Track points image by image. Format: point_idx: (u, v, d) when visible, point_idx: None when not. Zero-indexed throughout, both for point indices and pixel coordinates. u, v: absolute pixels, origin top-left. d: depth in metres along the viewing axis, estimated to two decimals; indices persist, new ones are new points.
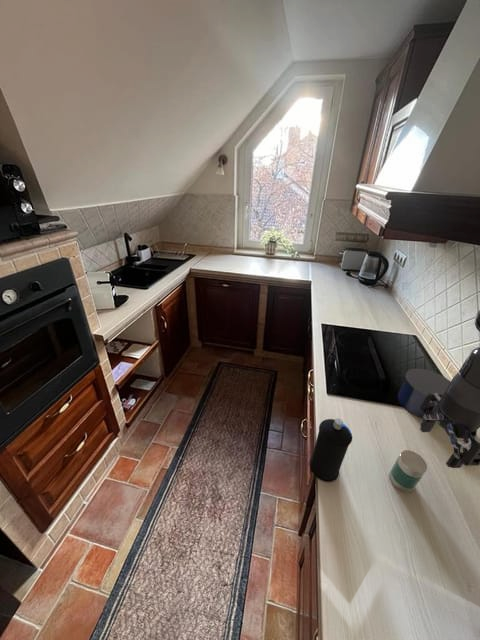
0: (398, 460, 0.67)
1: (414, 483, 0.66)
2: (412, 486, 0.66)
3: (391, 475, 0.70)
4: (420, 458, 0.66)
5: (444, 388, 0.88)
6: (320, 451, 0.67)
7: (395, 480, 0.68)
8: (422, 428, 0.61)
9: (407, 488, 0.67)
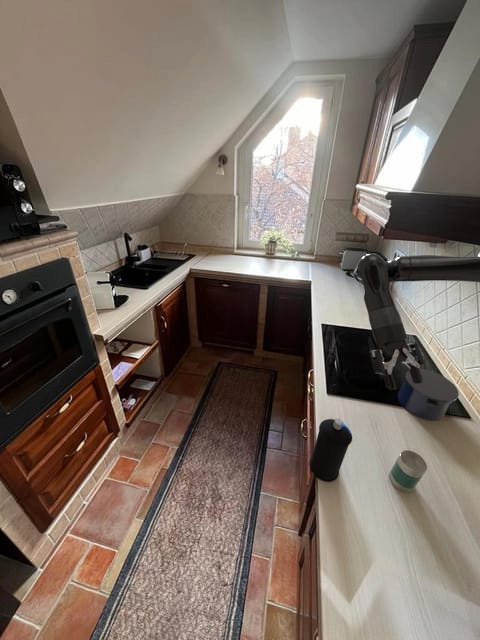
0: (398, 460, 0.67)
1: (414, 483, 0.66)
2: (412, 486, 0.66)
3: (391, 475, 0.70)
4: (420, 458, 0.66)
5: (444, 388, 0.88)
6: (320, 451, 0.67)
7: (395, 480, 0.68)
8: None
9: (407, 488, 0.67)
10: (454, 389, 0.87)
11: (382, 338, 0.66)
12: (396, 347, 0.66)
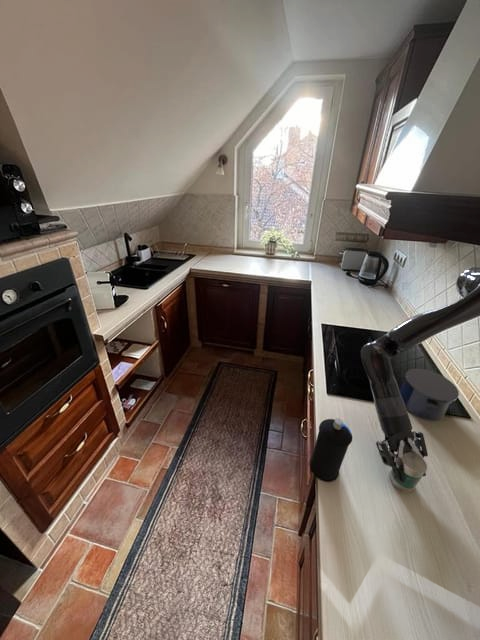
0: None
1: (414, 483, 0.66)
2: (412, 486, 0.66)
3: (391, 475, 0.70)
4: (420, 458, 0.66)
5: (444, 388, 0.88)
6: (320, 451, 0.67)
7: (395, 480, 0.68)
8: None
9: (407, 488, 0.67)
10: (454, 389, 0.87)
11: (387, 428, 0.68)
12: (401, 436, 0.68)
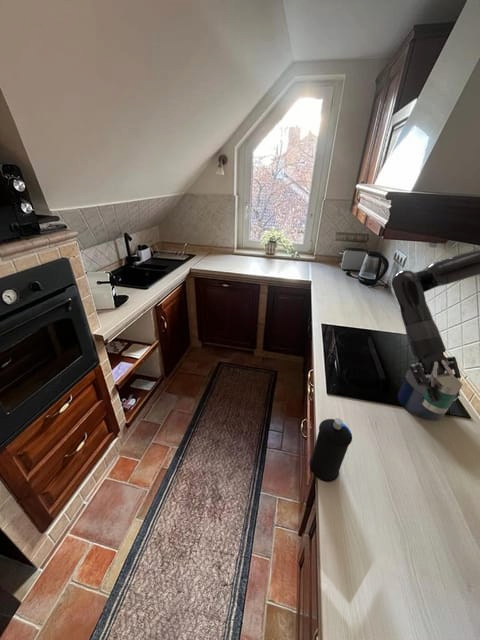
0: None
1: (449, 402, 0.67)
2: (446, 405, 0.67)
3: (424, 399, 0.71)
4: (454, 378, 0.67)
5: None
6: (320, 451, 0.67)
7: (429, 402, 0.69)
8: None
9: (441, 408, 0.68)
10: None
11: (421, 351, 0.69)
12: (435, 359, 0.69)
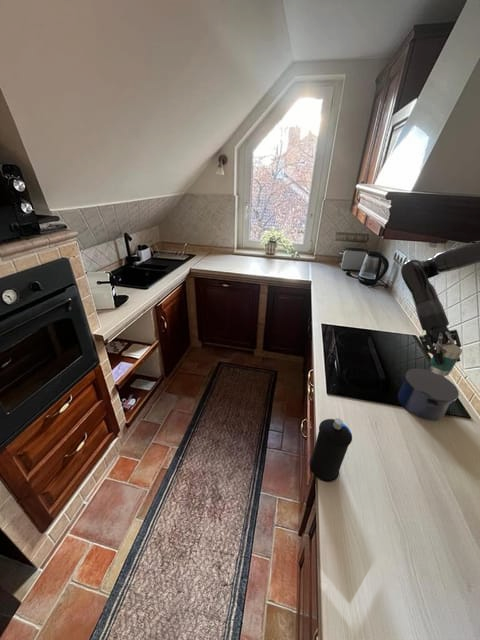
0: None
1: (451, 365, 0.81)
2: (449, 368, 0.82)
3: (430, 364, 0.86)
4: (456, 346, 0.82)
5: (444, 388, 0.88)
6: (320, 451, 0.67)
7: (434, 366, 0.84)
8: None
9: (445, 371, 0.83)
10: (454, 389, 0.87)
11: (428, 324, 0.84)
12: (440, 331, 0.84)
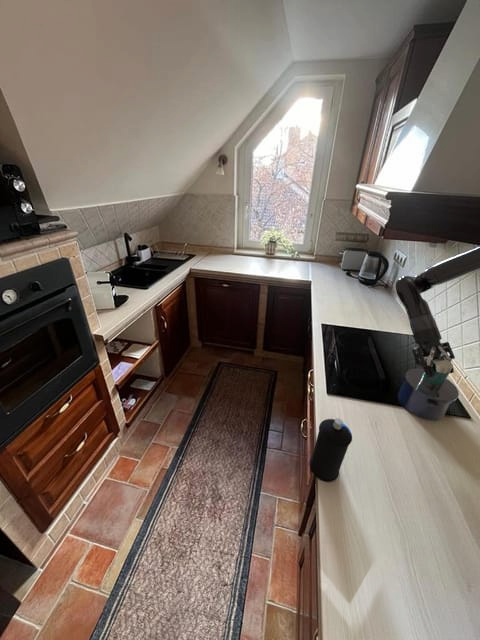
0: None
1: (442, 379, 0.85)
2: (441, 382, 0.86)
3: (423, 378, 0.89)
4: (447, 361, 0.86)
5: (444, 388, 0.88)
6: (320, 451, 0.67)
7: (427, 380, 0.88)
8: None
9: (437, 384, 0.86)
10: (454, 389, 0.87)
11: (421, 339, 0.87)
12: (433, 345, 0.87)
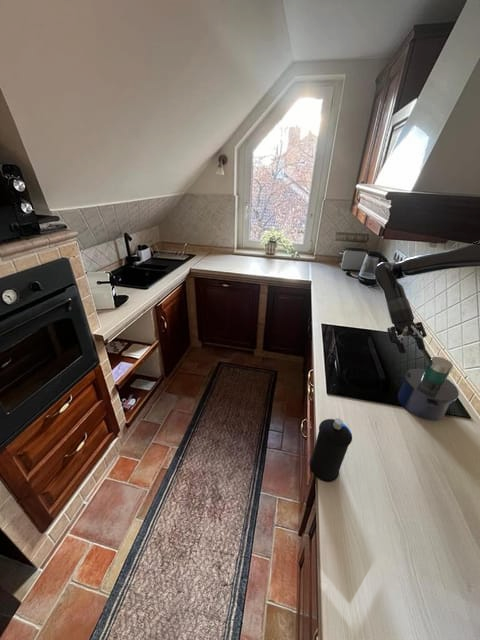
0: (429, 363, 0.87)
1: (442, 379, 0.85)
2: (441, 382, 0.86)
3: (423, 378, 0.89)
4: (447, 361, 0.86)
5: (444, 388, 0.88)
6: (320, 451, 0.67)
7: (427, 380, 0.88)
8: None
9: (437, 384, 0.86)
10: (454, 389, 0.87)
11: (396, 319, 0.96)
12: (406, 325, 0.96)
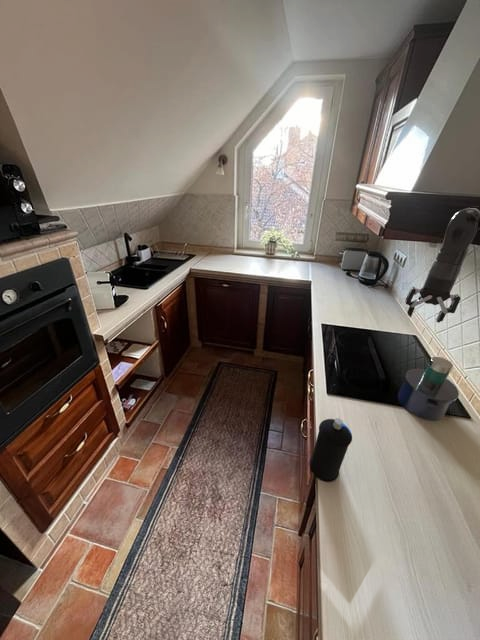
0: (429, 363, 0.87)
1: (442, 379, 0.85)
2: (441, 382, 0.86)
3: (423, 378, 0.89)
4: (447, 361, 0.86)
5: (444, 388, 0.88)
6: (320, 451, 0.67)
7: (427, 380, 0.88)
8: None
9: (437, 384, 0.86)
10: (454, 389, 0.87)
11: (425, 283, 0.84)
12: (434, 293, 0.84)
